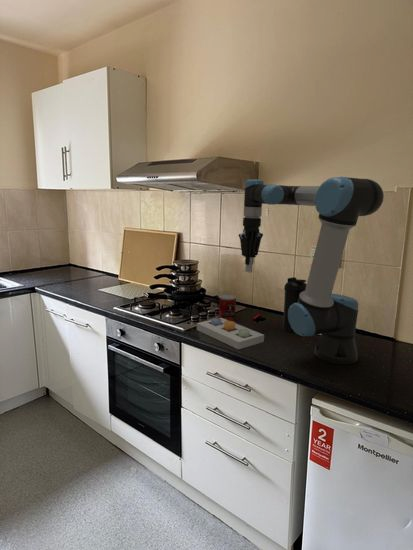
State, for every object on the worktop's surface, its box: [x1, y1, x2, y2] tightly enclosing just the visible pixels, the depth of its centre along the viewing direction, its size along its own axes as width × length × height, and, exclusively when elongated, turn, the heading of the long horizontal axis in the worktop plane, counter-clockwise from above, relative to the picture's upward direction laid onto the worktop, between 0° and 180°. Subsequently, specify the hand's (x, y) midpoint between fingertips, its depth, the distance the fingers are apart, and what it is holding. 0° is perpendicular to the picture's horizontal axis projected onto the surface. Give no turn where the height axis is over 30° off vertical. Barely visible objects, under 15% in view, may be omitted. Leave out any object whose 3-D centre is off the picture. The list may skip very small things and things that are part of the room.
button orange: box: [224, 320, 236, 332], centre depth 161 cm, size 4×4×4 cm
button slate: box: [210, 317, 221, 326], centre depth 167 cm, size 4×4×4 cm
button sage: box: [238, 329, 250, 338], centre depth 155 cm, size 4×4×4 cm
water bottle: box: [282, 276, 307, 334], centre depth 170 cm, size 10×10×23 cm
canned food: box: [218, 294, 237, 321], centre depth 182 cm, size 8×8×11 cm
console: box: [196, 317, 265, 350], centre depth 161 cm, size 26×14×3 cm, turn 39°
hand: (248, 271), depth 169 cm, fingers closed
